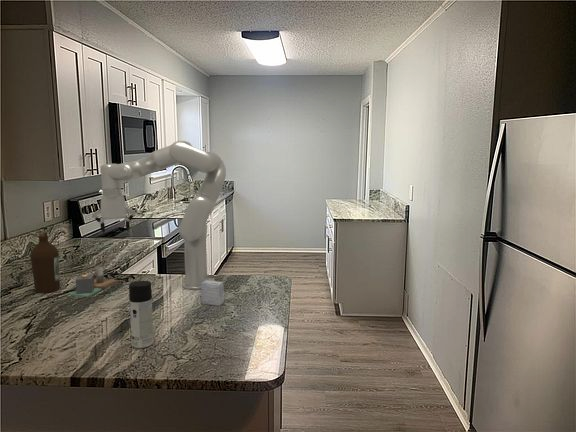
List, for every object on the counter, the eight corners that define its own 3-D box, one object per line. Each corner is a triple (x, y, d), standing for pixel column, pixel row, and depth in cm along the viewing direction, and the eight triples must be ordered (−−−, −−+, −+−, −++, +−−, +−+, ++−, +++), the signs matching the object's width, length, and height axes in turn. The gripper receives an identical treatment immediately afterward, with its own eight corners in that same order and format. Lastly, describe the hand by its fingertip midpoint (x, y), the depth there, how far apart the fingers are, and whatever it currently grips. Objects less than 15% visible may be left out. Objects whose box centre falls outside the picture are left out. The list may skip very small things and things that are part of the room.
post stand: (118, 282, 199) (117, 265, 198) (104, 289, 189) (103, 271, 188) (96, 280, 202) (94, 263, 200) (81, 286, 192) (79, 269, 191)
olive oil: (31, 295, 181) (25, 236, 177) (36, 287, 191) (31, 231, 187) (59, 292, 185) (55, 234, 181) (63, 284, 195) (58, 229, 191)
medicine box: (224, 302, 174) (223, 281, 173) (218, 306, 170) (218, 285, 169) (206, 300, 177) (206, 279, 176) (201, 304, 173) (200, 283, 171)
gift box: (92, 292, 183) (91, 276, 182) (76, 294, 181) (75, 277, 180) (94, 288, 188) (93, 272, 187) (79, 289, 187) (78, 273, 186)
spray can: (134, 339, 141) (131, 280, 138) (156, 339, 141) (153, 279, 138) (128, 349, 134) (125, 286, 131) (151, 348, 135) (148, 286, 132)
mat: (101, 290, 188) (101, 288, 188) (87, 297, 179) (87, 295, 179) (83, 288, 190) (83, 287, 190) (68, 295, 182) (68, 293, 181)
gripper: (89, 194, 183) (93, 234, 185) (133, 192, 188) (136, 231, 191) (91, 192, 190) (95, 231, 192) (133, 190, 195) (136, 228, 198)
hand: (115, 231), depth 191 cm, fingers open, 9 cm apart
